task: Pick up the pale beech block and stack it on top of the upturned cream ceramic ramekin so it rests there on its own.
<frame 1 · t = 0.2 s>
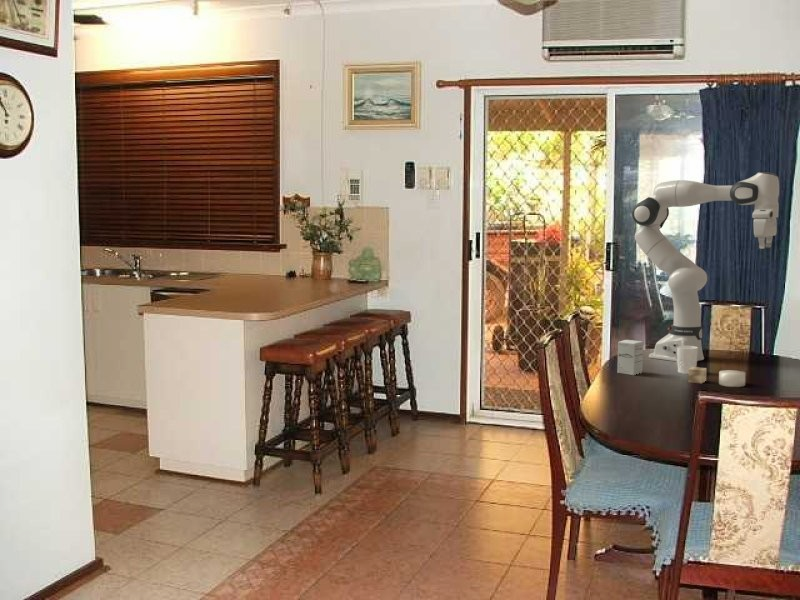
hand: (765, 248, 349), 48 cm above the table, tool pointing down, fingers open, 8 cm apart
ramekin: (731, 384, 321), on the table
beech block: (697, 381, 327), on the table
supplement box: (629, 373, 344), on the table
white cup: (686, 372, 344), on the table
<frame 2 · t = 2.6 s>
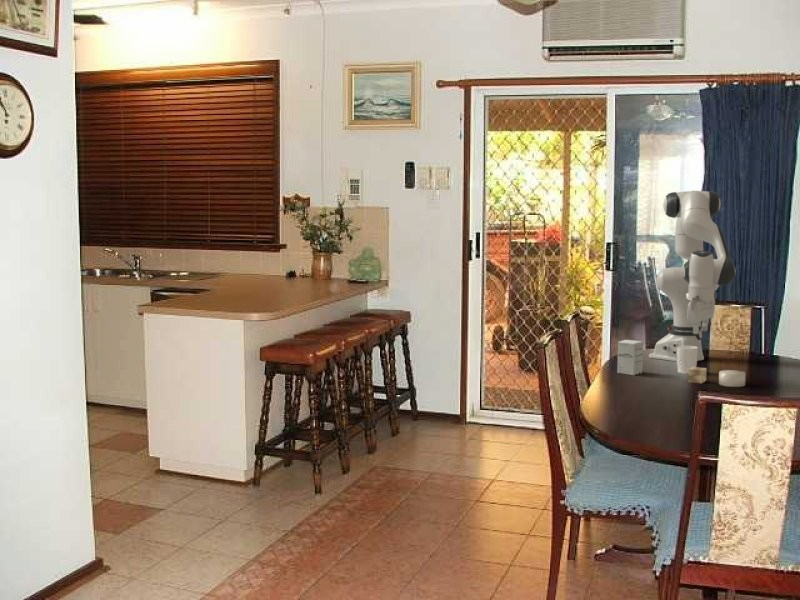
hand: (700, 332, 325), 18 cm above the table, tool pointing down, fingers open, 8 cm apart
nothing on the table moved.
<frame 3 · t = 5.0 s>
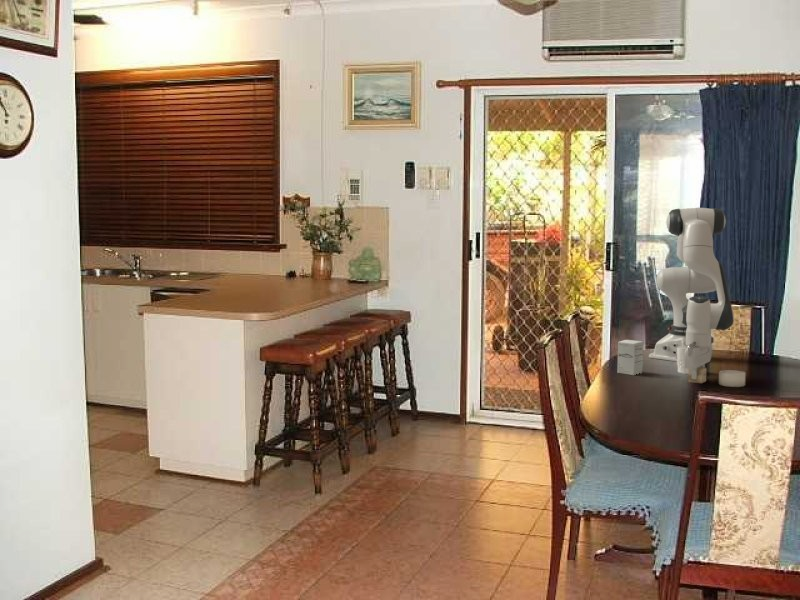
hand: (697, 377, 326), 2 cm above the table, tool pointing down, fingers closed on beech block, 5 cm apart
beech block: (697, 381, 327), on the table, touching gripper
everything else where it was.
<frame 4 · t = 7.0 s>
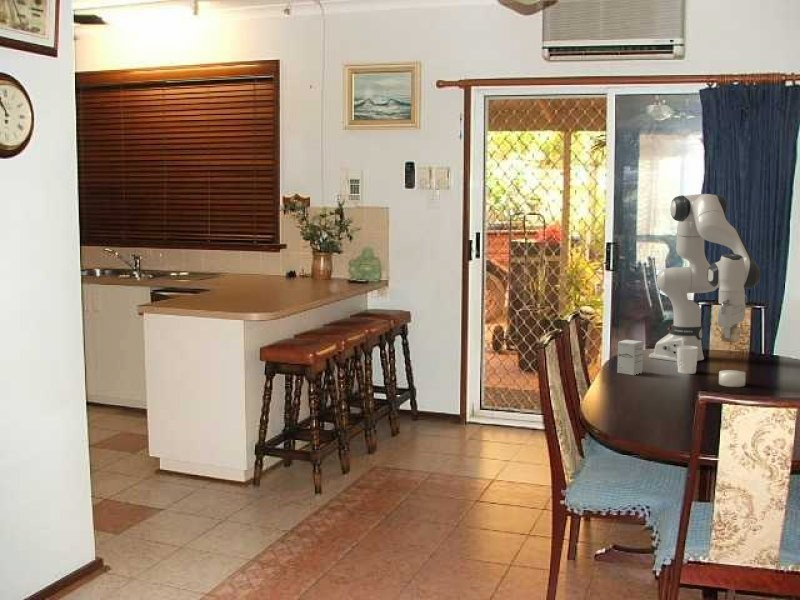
hand: (730, 336, 319), 18 cm above the table, tool pointing down, fingers closed on beech block, 5 cm apart
beech block: (730, 341, 319), point 16 cm above the table, touching gripper
everything else where it was.
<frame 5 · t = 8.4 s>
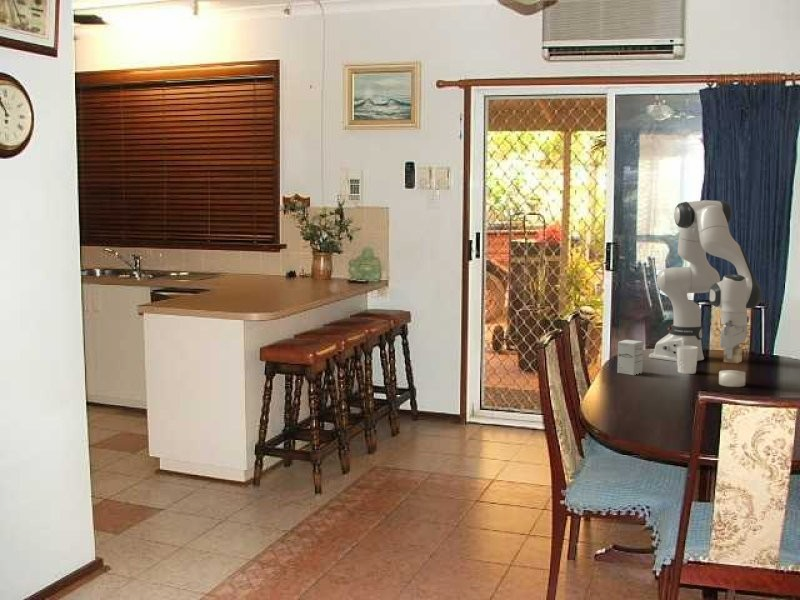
hand: (732, 357, 320), 10 cm above the table, tool pointing down, fingers closed on beech block, 5 cm apart
beech block: (732, 361, 320), point 8 cm above the table, touching gripper
everything else where it was.
when the fingers open (7 cm above the table, at t = 9.3 s): beech block drops 1 cm, resting on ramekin.
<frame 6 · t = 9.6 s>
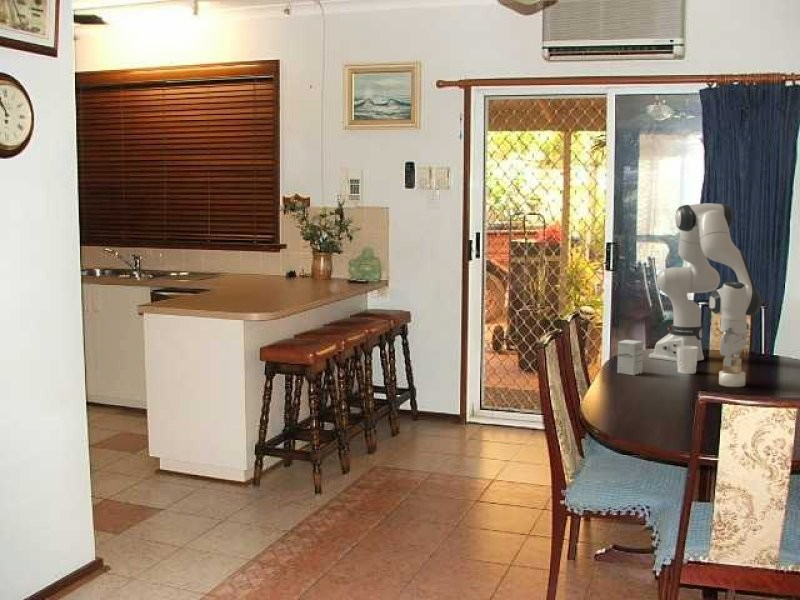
hand: (732, 364, 320), 7 cm above the table, tool pointing down, fingers open, 7 cm apart
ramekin: (731, 384, 321), on the table, touching beech block
beech block: (732, 372, 321), point 4 cm above the table, touching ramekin
everything else where it was.
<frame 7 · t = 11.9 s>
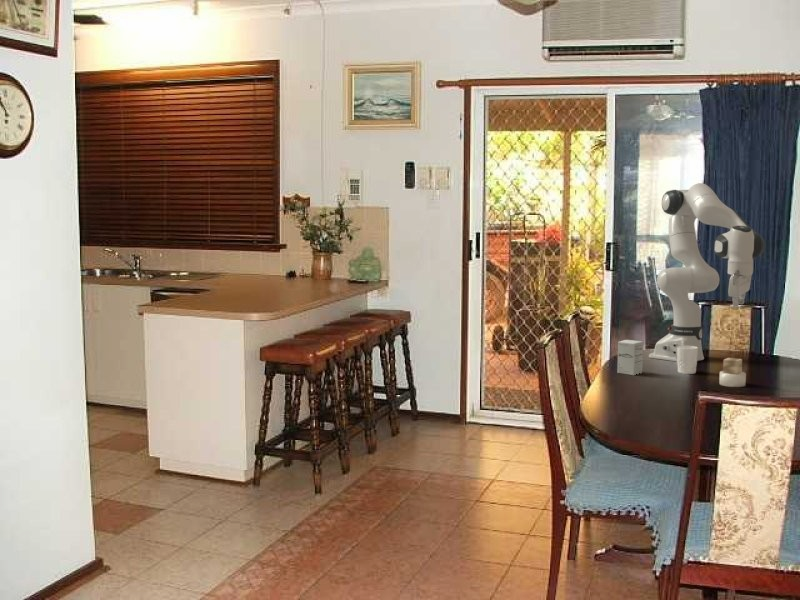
hand: (738, 305, 332), 27 cm above the table, tool pointing down, fingers open, 8 cm apart
nothing on the table moved.
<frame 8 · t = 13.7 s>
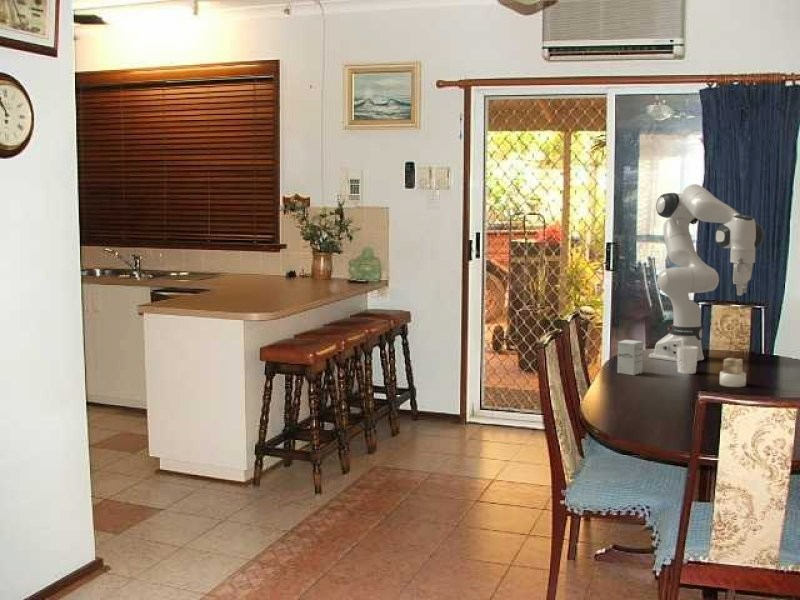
hand: (741, 294, 335), 31 cm above the table, tool pointing down, fingers open, 8 cm apart
nothing on the table moved.
at the end: beech block inside the target area on the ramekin (0.1 cm from its centre), point 4.5 cm above the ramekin's base; beech block touching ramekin; the gripper is holding nothing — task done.
